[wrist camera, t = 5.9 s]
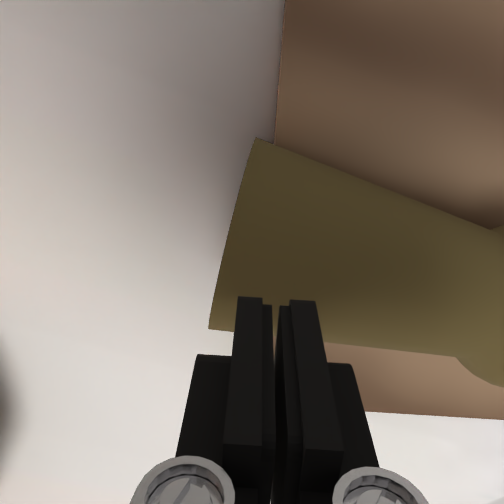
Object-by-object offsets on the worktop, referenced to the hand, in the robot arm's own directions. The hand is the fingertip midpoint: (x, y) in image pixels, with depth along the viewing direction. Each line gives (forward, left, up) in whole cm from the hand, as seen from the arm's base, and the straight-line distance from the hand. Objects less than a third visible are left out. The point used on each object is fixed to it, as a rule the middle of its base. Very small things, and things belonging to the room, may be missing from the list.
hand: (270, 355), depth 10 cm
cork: (-1, -1, -5) cm, 5 cm away
